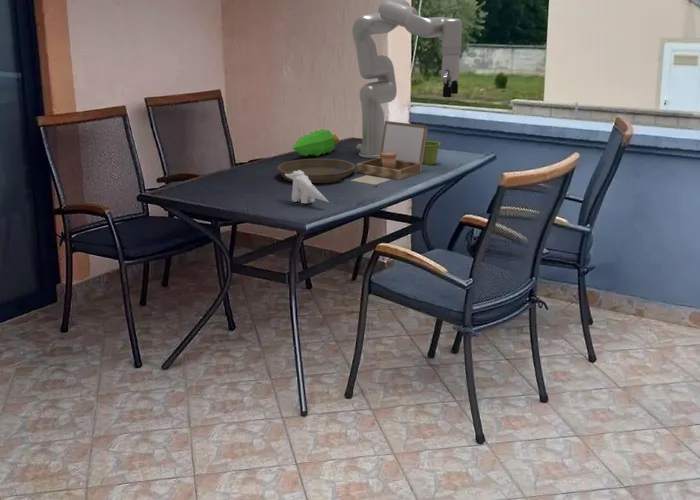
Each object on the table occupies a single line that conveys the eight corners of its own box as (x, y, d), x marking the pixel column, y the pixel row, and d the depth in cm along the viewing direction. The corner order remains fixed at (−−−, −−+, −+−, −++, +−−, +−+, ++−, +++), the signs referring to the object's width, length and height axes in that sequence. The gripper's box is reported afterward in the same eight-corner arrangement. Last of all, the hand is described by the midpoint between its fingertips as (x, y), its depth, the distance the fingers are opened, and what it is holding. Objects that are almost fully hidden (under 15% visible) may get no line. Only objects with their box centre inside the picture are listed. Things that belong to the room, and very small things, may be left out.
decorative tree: (339, 123, 391) (297, 131, 367) (347, 148, 392) (306, 158, 368) (320, 131, 398) (278, 139, 374) (328, 155, 399) (286, 165, 375)
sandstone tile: (350, 182, 337) (350, 180, 337) (366, 177, 345) (366, 175, 344) (375, 187, 330) (375, 184, 330) (390, 181, 338) (390, 179, 337)
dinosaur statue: (292, 193, 320) (293, 164, 315) (336, 212, 304) (337, 181, 299) (277, 197, 315) (278, 167, 311) (321, 216, 299) (322, 185, 295)
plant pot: (439, 161, 371) (440, 141, 368) (439, 166, 362) (440, 145, 359) (417, 161, 372) (417, 140, 369) (417, 166, 363) (417, 145, 360)
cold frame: (356, 175, 349) (356, 163, 348) (379, 168, 360) (379, 157, 359) (399, 182, 337) (399, 170, 335) (421, 174, 348) (421, 163, 347)
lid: (385, 120, 357) (386, 121, 358) (379, 156, 359) (380, 157, 360) (427, 125, 345) (428, 126, 346) (421, 163, 347) (422, 163, 347)
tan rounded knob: (378, 172, 348) (377, 153, 345) (387, 170, 353) (387, 150, 350) (390, 174, 344) (390, 154, 342) (399, 172, 349) (399, 152, 346)
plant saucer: (318, 164, 370) (318, 154, 368) (371, 175, 349) (371, 164, 347) (261, 177, 349) (261, 166, 348) (314, 190, 328) (313, 178, 327)
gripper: (448, 48, 350) (447, 92, 355) (435, 53, 335) (435, 98, 340) (466, 49, 347) (465, 92, 353) (454, 53, 332) (453, 99, 338)
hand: (450, 95), depth 347 cm, fingers open, 9 cm apart
